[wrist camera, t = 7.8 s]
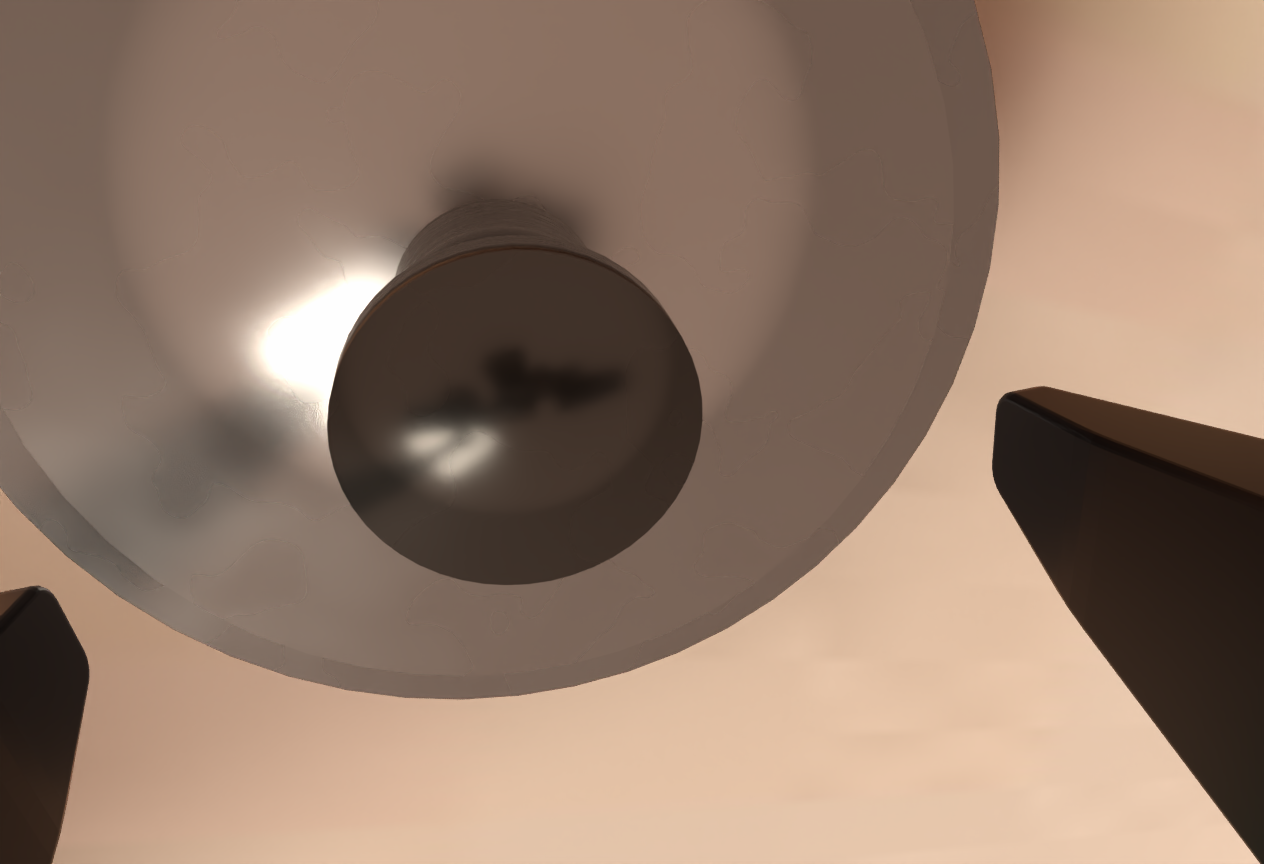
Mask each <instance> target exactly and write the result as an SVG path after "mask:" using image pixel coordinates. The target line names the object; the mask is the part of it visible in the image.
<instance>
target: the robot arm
mask: <svg viewBox="0 0 1264 864" xmlns="http://www.w3.org/2000/svg"><path fill="white" fill-rule="evenodd" d="M992 471H993V477H994V481H995V484H996V487H997V489H998V491H999V493H1000V495H1001V496H1002V498H1003V500H1004V501H1005V503H1006V505H1007V507H1008V508H1009V510H1010V512H1011V513H1012V515H1013V517H1014V518H1015V520H1016V522H1017V523H1018V525H1019V527H1020V529H1021V530H1022V532H1023V534H1024V535H1025V537H1026V539H1027V540H1028V542H1029V544H1030V545H1031V547H1032V549H1033V551H1034V552H1035V554H1036V556H1037V557H1038V559H1039V561H1040V562H1041V564H1042V566H1043V568H1044V569H1045V571H1046V573H1047V574H1048V576H1049V578H1050V579H1051V581H1052V583H1053V584H1054V586H1055V588H1056V589H1057V591H1058V593H1059V594H1060V596H1061V597H1062V599H1063V600H1064V602H1065V604H1066V605H1067V607H1068V608H1069V610H1070V611H1071V612H1072V614H1073V615H1074V617H1075V618H1076V619H1077V621H1078V622H1079V624H1080V625H1081V626H1082V628H1083V629H1084V631H1085V632H1086V633H1087V634H1088V636H1089V637H1090V638H1091V640H1092V641H1093V642H1094V644H1095V645H1096V646H1097V648H1098V649H1099V650H1100V652H1101V653H1102V654H1103V656H1104V657H1105V658H1106V660H1107V661H1108V662H1109V664H1110V665H1111V666H1112V668H1113V669H1114V670H1115V672H1116V673H1117V674H1118V676H1119V677H1120V678H1121V680H1122V681H1123V682H1124V684H1125V685H1126V686H1127V688H1128V689H1129V690H1130V692H1131V693H1132V694H1133V696H1134V697H1135V698H1136V699H1137V701H1138V702H1139V703H1140V705H1141V706H1142V707H1143V709H1144V710H1145V711H1146V713H1147V714H1148V715H1149V717H1150V718H1151V719H1152V721H1153V722H1154V723H1155V725H1156V726H1157V727H1158V729H1159V730H1160V731H1161V733H1162V734H1163V735H1164V737H1165V738H1166V739H1167V741H1168V742H1169V743H1170V745H1171V746H1172V747H1173V749H1174V750H1175V751H1176V753H1177V754H1178V755H1179V757H1180V758H1181V759H1182V760H1183V762H1184V763H1185V764H1186V766H1187V767H1188V768H1189V770H1190V771H1191V772H1192V774H1193V775H1194V776H1195V778H1196V779H1197V780H1198V782H1199V783H1200V784H1201V786H1202V787H1203V788H1204V790H1205V791H1206V792H1207V794H1208V795H1209V796H1210V798H1211V799H1212V800H1213V802H1214V803H1215V804H1216V806H1217V807H1218V808H1219V810H1220V811H1221V812H1222V814H1223V815H1224V816H1225V818H1226V819H1227V820H1228V821H1229V823H1230V824H1231V825H1232V827H1233V828H1234V829H1235V831H1236V832H1237V833H1238V835H1239V836H1240V837H1241V839H1242V840H1243V841H1244V843H1245V844H1246V845H1247V847H1248V848H1249V849H1250V851H1251V852H1252V853H1253V855H1254V856H1255V857H1256V859H1257V860H1258V861H1259V863H1260V864H1264V439H1261V438H1257V437H1253V436H1249V435H1245V434H1241V433H1236V432H1232V431H1228V430H1224V429H1220V428H1216V427H1212V426H1208V425H1203V424H1199V423H1195V422H1191V421H1187V420H1183V419H1179V418H1174V417H1170V416H1166V415H1162V414H1158V413H1154V412H1150V411H1146V410H1141V409H1137V408H1133V407H1129V406H1125V405H1121V404H1117V403H1113V402H1108V401H1104V400H1100V399H1096V398H1092V397H1088V396H1084V395H1079V394H1075V393H1071V392H1067V391H1063V390H1059V389H1055V388H1051V387H1046V386H1039V387H1033V388H1028V389H1023V390H1018V391H1013V392H1009V393H1006V394H1005V395H1004V396H1003V397H1002V398H1001V399H1000V400H999V403H998V405H997V410H996V421H995V434H994V447H993V460H992ZM88 684H89V665H88V660H87V657H86V654H85V652H84V649H83V648H82V646H81V644H80V642H79V640H78V638H77V636H76V635H75V633H74V631H73V629H72V627H71V625H70V623H69V621H68V620H67V618H66V616H65V614H64V612H63V610H62V608H61V606H60V605H59V603H58V601H57V599H56V598H55V596H54V595H53V594H52V593H51V592H50V591H49V590H48V589H46V588H43V587H41V586H30V587H25V588H20V589H15V590H10V591H5V592H0V864H52V862H53V858H54V854H55V851H56V847H57V844H58V840H59V836H60V833H61V828H62V824H63V819H64V815H65V810H66V805H67V800H68V794H69V789H70V783H71V778H72V772H73V767H74V761H75V756H76V750H77V745H78V739H79V734H80V728H81V722H82V717H83V711H84V706H85V700H86V695H87V689H88Z"/></svg>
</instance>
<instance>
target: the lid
mask: <svg viewBox="0 0 1264 864" xmlns="http://www.w3.org/2000/svg"><path fill="white" fill-rule="evenodd" d="M998 193H999V133H998V124H997V115H996V106H995V98H994V89H993V80H992V72H991V66H990V62H989V58H988V54H987V50H986V46H985V42H984V38H983V34H982V30H981V26H980V22H979V18H978V14H977V10H976V6H975V2H974V0H0V488H1V489H2V490H3V491H4V493H5V494H6V495H7V496H8V498H9V499H10V500H11V501H12V503H13V504H14V505H15V506H16V507H17V508H18V509H19V510H20V511H21V512H22V513H23V514H24V515H25V516H26V517H27V518H28V519H29V520H30V521H31V522H32V523H33V524H34V525H35V526H36V527H37V528H38V529H39V530H40V531H41V532H42V533H43V534H44V535H45V536H46V537H47V538H48V539H49V540H50V541H51V542H52V543H53V544H54V545H56V546H57V547H58V548H59V549H60V550H61V551H62V552H63V553H64V554H65V555H66V556H67V557H68V558H70V559H71V560H72V561H74V562H75V563H76V564H78V565H79V566H80V567H81V568H83V569H84V570H85V571H87V572H88V573H89V574H90V575H92V576H93V577H94V578H96V579H97V580H98V581H100V582H101V583H102V584H103V585H105V586H106V587H107V588H109V589H110V590H111V591H113V592H114V593H115V594H116V595H118V596H119V597H121V598H122V599H124V600H126V601H127V602H129V603H131V604H132V605H134V606H136V607H137V608H139V609H141V610H142V611H144V612H146V613H147V614H149V615H150V616H152V617H154V618H155V619H157V620H159V621H160V622H162V623H164V624H165V625H167V626H169V627H170V628H172V629H174V630H176V631H178V632H180V633H182V634H184V635H186V636H188V637H191V638H193V639H195V640H197V641H199V642H201V643H203V644H206V645H208V646H210V647H212V648H214V649H216V650H218V651H221V652H223V653H225V654H227V655H229V656H231V657H234V658H237V659H240V660H243V661H246V662H249V663H252V664H254V665H257V666H260V667H263V668H266V669H269V670H272V671H275V672H278V673H281V674H283V675H286V676H289V677H294V678H298V679H302V680H306V681H311V682H315V683H319V684H323V685H328V686H332V687H336V688H341V689H345V690H351V691H358V692H366V693H374V694H381V695H389V696H397V697H404V698H435V699H475V698H489V697H504V696H519V695H525V694H531V693H537V692H543V691H549V690H555V689H561V688H567V687H572V686H577V685H580V684H584V683H588V682H592V681H595V680H599V679H603V678H606V677H610V676H614V675H617V674H621V673H625V672H628V671H631V670H633V669H636V668H639V667H641V666H644V665H647V664H649V663H652V662H654V661H657V660H660V659H662V658H665V657H668V656H670V655H673V654H676V653H678V652H680V651H682V650H684V649H686V648H688V647H690V646H692V645H694V644H696V643H698V642H700V641H702V640H704V639H706V638H708V637H710V636H713V635H715V634H717V633H719V632H721V631H723V630H725V629H727V628H728V627H730V626H732V625H733V624H735V623H736V622H738V621H739V620H741V619H743V618H744V617H746V616H747V615H749V614H751V613H752V612H754V611H755V610H757V609H759V608H760V607H762V606H763V605H765V604H767V603H768V602H770V601H771V600H773V599H774V598H776V597H777V596H778V595H779V594H781V593H782V592H783V591H785V590H786V589H787V588H788V587H790V586H791V585H792V584H794V583H795V582H796V581H797V580H799V579H800V578H801V577H803V576H804V575H805V574H806V573H808V572H809V571H810V570H812V569H813V568H814V567H815V566H817V565H818V564H819V563H820V562H821V561H822V560H823V559H824V558H825V557H826V556H827V555H828V554H829V553H830V552H831V551H832V550H833V549H834V548H835V547H836V546H838V545H839V544H840V543H841V542H842V541H843V540H844V539H845V538H846V537H847V536H848V535H849V534H850V533H851V532H852V531H853V530H854V529H855V528H856V527H857V526H858V525H859V524H860V523H861V521H862V520H863V519H864V518H865V517H866V516H867V514H868V513H869V512H870V511H871V510H872V508H873V507H874V506H875V505H876V504H877V502H878V501H879V500H880V499H881V498H882V497H883V495H884V494H885V493H886V492H887V491H888V489H889V488H890V487H891V486H892V485H893V483H894V482H895V480H896V479H897V478H898V476H899V475H900V473H901V472H902V470H903V469H904V467H905V466H906V464H907V463H908V461H909V460H910V458H911V457H912V455H913V454H914V452H915V451H916V449H917V448H918V446H919V445H920V443H921V442H922V440H923V439H924V437H925V436H926V434H927V432H928V430H929V428H930V426H931V424H932V422H933V421H934V419H935V417H936V415H937V413H938V411H939V409H940V407H941V405H942V403H943V401H944V400H945V398H946V396H947V394H948V392H949V390H950V388H951V386H952V384H953V382H954V379H955V377H956V374H957V371H958V369H959V366H960V364H961V361H962V358H963V356H964V353H965V351H966V348H967V346H968V343H969V340H970V338H971V335H972V333H973V330H974V327H975V323H976V319H977V316H978V312H979V308H980V304H981V300H982V296H983V292H984V289H985V285H986V281H987V277H988V273H989V269H990V263H991V256H992V248H993V241H994V233H995V226H996V218H997V211H998Z"/></svg>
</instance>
